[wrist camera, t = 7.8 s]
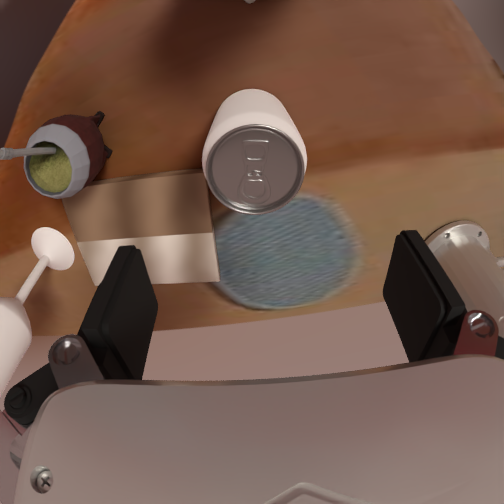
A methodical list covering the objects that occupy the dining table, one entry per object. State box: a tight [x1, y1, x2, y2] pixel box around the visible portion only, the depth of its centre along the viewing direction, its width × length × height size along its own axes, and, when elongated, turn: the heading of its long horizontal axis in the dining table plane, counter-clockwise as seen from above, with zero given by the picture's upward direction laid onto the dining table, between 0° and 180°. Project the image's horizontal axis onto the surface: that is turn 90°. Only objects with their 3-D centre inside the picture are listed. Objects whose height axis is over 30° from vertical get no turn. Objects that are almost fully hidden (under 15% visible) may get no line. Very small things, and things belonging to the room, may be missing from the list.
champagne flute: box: [0, 227, 74, 398], centre depth 26 cm, size 7×7×24 cm
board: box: [61, 168, 220, 286], centre depth 34 cm, size 16×13×1 cm
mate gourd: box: [0, 111, 112, 199], centre depth 21 cm, size 8×8×15 cm
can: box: [202, 89, 307, 215], centre depth 23 cm, size 6×6×12 cm
